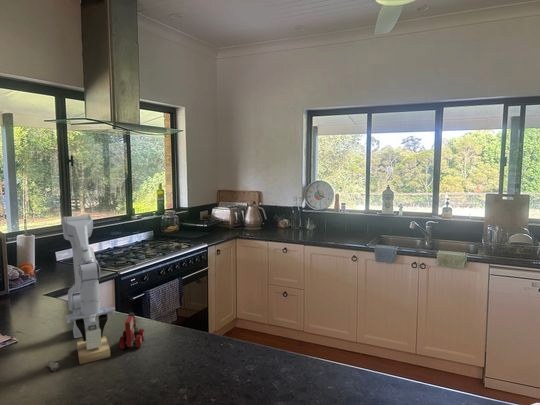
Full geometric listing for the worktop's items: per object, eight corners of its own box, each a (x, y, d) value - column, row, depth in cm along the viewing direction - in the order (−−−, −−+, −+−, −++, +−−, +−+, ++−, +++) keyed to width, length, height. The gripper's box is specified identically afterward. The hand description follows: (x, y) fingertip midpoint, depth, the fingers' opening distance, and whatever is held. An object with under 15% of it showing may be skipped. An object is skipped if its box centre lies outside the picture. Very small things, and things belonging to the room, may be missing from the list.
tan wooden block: (77, 348, 131) (76, 341, 131) (105, 342, 136) (105, 335, 136) (79, 364, 121) (79, 356, 121) (110, 356, 125) (110, 349, 125)
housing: (84, 340, 130) (83, 321, 130) (98, 337, 132) (97, 318, 132) (86, 349, 123) (85, 330, 123) (101, 346, 126) (100, 327, 125)
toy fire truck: (145, 335, 141) (144, 308, 140) (139, 351, 129) (138, 321, 128) (125, 337, 140) (124, 309, 139) (118, 353, 128) (116, 323, 127)
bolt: (45, 367, 119) (45, 360, 119) (54, 364, 121) (53, 357, 121) (51, 372, 116) (51, 365, 116) (60, 369, 118) (59, 361, 118)
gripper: (65, 307, 119) (68, 349, 121) (115, 298, 127) (117, 338, 128) (64, 300, 126) (67, 340, 127) (112, 292, 133) (114, 330, 134)
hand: (92, 338), depth 128 cm, fingers closed on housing, 4 cm apart
